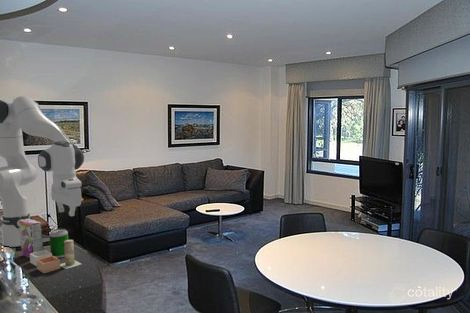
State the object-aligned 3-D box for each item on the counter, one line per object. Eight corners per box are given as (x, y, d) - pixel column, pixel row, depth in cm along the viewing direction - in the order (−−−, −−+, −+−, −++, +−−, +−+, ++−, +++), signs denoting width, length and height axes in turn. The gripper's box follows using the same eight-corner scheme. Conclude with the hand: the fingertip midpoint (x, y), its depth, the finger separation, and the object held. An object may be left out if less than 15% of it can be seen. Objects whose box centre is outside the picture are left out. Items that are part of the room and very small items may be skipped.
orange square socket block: (37, 270, 166) (36, 259, 166) (53, 265, 171) (52, 255, 171) (44, 274, 162) (43, 263, 161) (60, 269, 167) (59, 259, 166)
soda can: (62, 260, 178) (60, 233, 176) (47, 259, 179) (45, 232, 178) (72, 254, 185) (71, 228, 184) (58, 253, 186) (56, 227, 185)
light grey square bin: (30, 263, 174) (29, 253, 173) (46, 259, 179) (45, 249, 178) (36, 267, 170) (35, 257, 169) (52, 263, 174) (51, 253, 174)
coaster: (58, 266, 171) (58, 264, 171) (74, 261, 176) (74, 260, 176) (65, 270, 166) (65, 268, 166) (82, 265, 171) (82, 264, 171)
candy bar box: (20, 255, 184) (17, 220, 182) (31, 252, 188) (29, 218, 186) (33, 261, 177) (30, 224, 175) (44, 257, 181) (41, 221, 179)
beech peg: (63, 264, 171) (62, 241, 170) (72, 262, 174) (70, 239, 173) (67, 266, 169) (66, 243, 168) (76, 264, 171) (74, 240, 170)
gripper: (46, 179, 172) (48, 211, 173) (68, 185, 158) (70, 219, 159) (61, 177, 176) (62, 208, 178) (83, 182, 162) (85, 216, 164)
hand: (66, 213), depth 168 cm, fingers open, 8 cm apart
